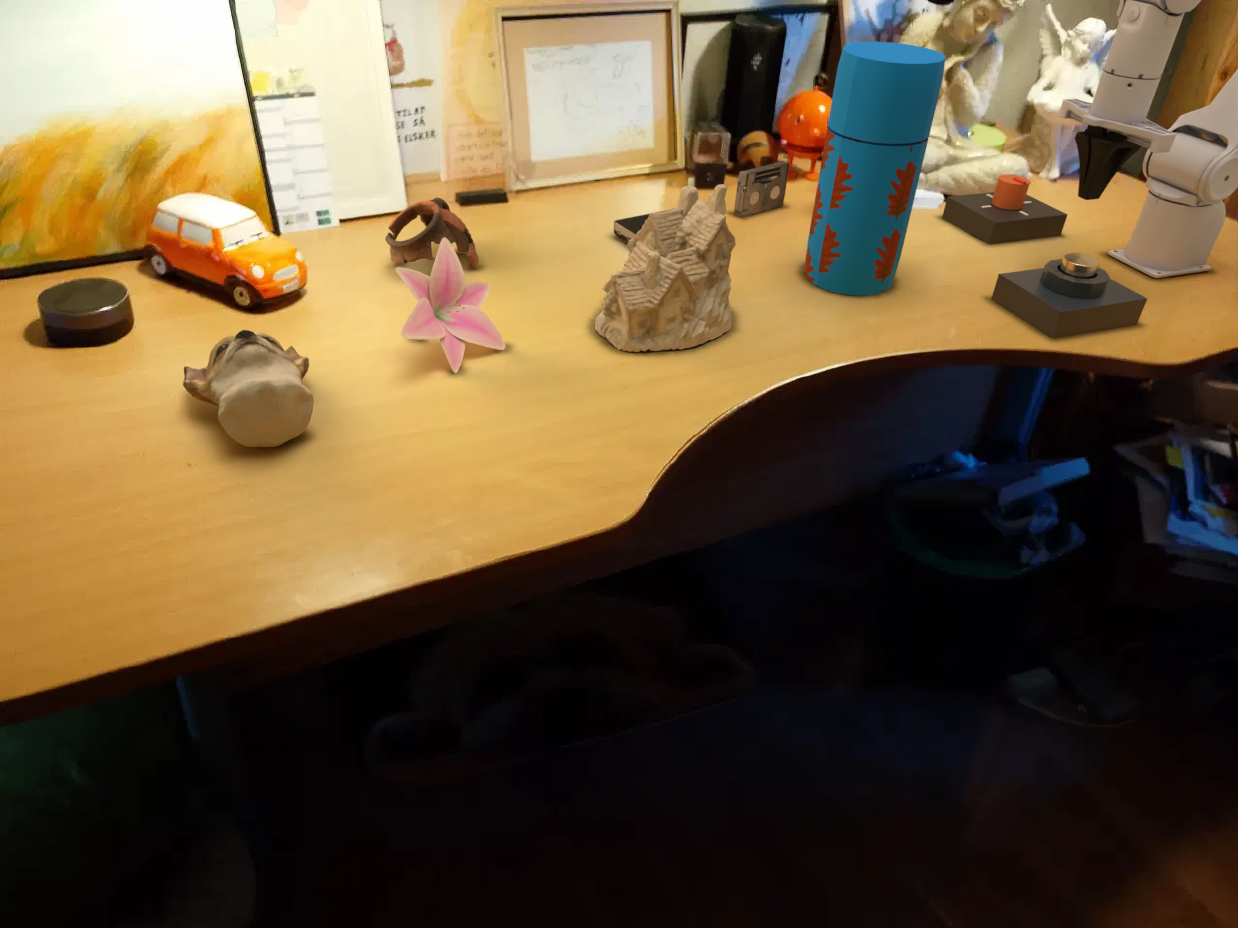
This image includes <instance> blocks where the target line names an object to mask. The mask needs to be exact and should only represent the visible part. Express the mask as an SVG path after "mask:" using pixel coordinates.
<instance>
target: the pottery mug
mask: <svg viewBox="0 0 1238 928" xmlns="http://www.w3.org/2000/svg"><path fill="white" fill-rule="evenodd" d="M418 216H419V219H420V222H421V223H423V224H424V226H425V228H424V229H423V230H422V231H421V232H419V233H418V234H416V235H414V236H413V237H410V238H408V239H405V240H397V238H398V236H399V234H400V233H401V232H402V230H403V229H404V228H406V226H408V224H410V223H411V222H412V221H414V220H416V219H418ZM388 230H389V231H390V232H387V235H385V238H384V240H385V242H386V243H387V245H388V246H389V255H390V260H391V261H392V262H394V264H396V265H400V264H401V265H406V264H408V263H414V262H417V261H419V260H423V259H425V260H428V261H432V262H433V261H435V259H434V256H433V249H432V243H434V244H435V245H440V242H441V240H442V238H444V237H445V238H447V239H448V240H449V242H450V243H451V245H452V244H454V243H455V246H456V251H457V252H458V253H461V254H462V253H465V254H467V258H468V259H469V260H470V264H471V266H472V268H473V269H475V270H476V269H477V268H478V266H479V261H480V260H479V255H478V253H477V249H476V244H475V242H474V240H473V237H472V234H471V233H470V231H469V228H467V225H466V224H465V223H464V221H462V219H461V218H460V217H459V216H458V215H457V214H456V213H454V212H452V211H451V209H450V206H449V204H448V203H447V202H446V201H445V200H444V199H442V198H441V197H433V199H430V200H422V201H418V202H415V203H412V204H411V205H409V206H407V207H406V208H404V209H403V210H401V211H400V212H399V213H398V214H397V215H396V216H395V217H394V218H393V219H392V220H391V222H390V223H389V226H388Z"/></svg>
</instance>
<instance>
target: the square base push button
mask: <svg viewBox="0 0 1238 928" xmlns="http://www.w3.org/2000/svg"><path fill="white" fill-rule="evenodd" d="M1062 260H1063V258H1057V259H1051V260H1049V261H1047V262H1046V263H1045V264H1044V267H1040V268H1039V267H1038V268H1033V269H1024V270H1017V271H1010V272H1009V271H1008V272H1003V273H998V275H997V279H996V282H995V286H994V288H993V292H992V295H991V298H990V300H991V301H993V302H994V303H996V304H998V305H999V306H1000V307H1002V308H1004V309H1005V310H1007V311H1008V312H1010V313H1011V314H1013V315H1014V316H1016V317H1018V318H1020V319H1021V320H1022V321H1024V322H1026V324H1029V325H1030V326H1032V327H1033V328H1035V329H1037V330H1038V331H1039V332H1041V333H1043V334H1044V335H1046V336H1047V337H1049V338H1051V339H1057V338H1065V337H1069V336H1074V335H1075V336H1076V335H1082V334H1087V333H1095V332H1099V331H1100V332H1101V331H1106V330H1112V329H1118V328H1125V327H1131V326H1136V325H1138V323H1139V320H1140V319H1141V315H1142V313H1143V311H1144V309H1145V306H1146V304H1147V301H1148V297H1146V296H1144V295H1142V294H1140V293H1138V292H1137V291H1134V290H1133V289H1131V288H1129V287H1127V286H1125V285H1123V284H1121V283H1120V282H1118V281H1116V280H1113V279H1112V278H1111V276H1110V275H1109V274H1108V272H1107V271H1106V270H1105V269H1103V268H1101V267H1099V266H1098V267H1097V270H1096V272H1095V275H1094V278H1092V279H1081V278H1074V277H1071V276H1067V275H1065V274H1063V273H1062V272H1060V271H1059V269H1060V266H1061V263H1062Z"/></svg>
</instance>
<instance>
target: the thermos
mask: <svg viewBox="0 0 1238 928" xmlns="http://www.w3.org/2000/svg"><path fill="white" fill-rule="evenodd" d="M945 63H946V55H945V54H944V53H941V52H940V51H937V50H935V49H932V48H928V47H923V46H918V45H915V44H908V43H901V42H900V43H898V42H891V41H890V42H888V41H859V42H858V41H857V42H850V43H848V44H845V45H844V46H843V48H842V51H841V54H840V57H839V61H838V65H837V69H836V75H835V81H834V87H833V92H832V99H831V103H830V110H829V116H828V121H827V127H826V128H827V129H826V132H825V138H824V140H825V141H824V145H823V151H822V155H821V163H820V168H819V174H818V180H817V187H816V191H815V196H814V197H815V198H814V202H813V207H812V208H813V209H812V215H811V221H810V228H809V232H808V238H807V244H806V254H805V260H804V261H805V263H804V272H803V274H804V276H805V277H806V279H807V281H808V282H810V283H812V284H813V285H814V286H816V287H817V288H821V289H823V290H826V291H828V292H831V293H836V294H841V295H844V296H858V297H863V296H874V295H878V294H882V293H885V292H888V290H889V289H890V288H892V287H893V284H894V280H895V277H896V273H897V270H898V267H899V263H900V260H901V257H902V253H903V249H904V248H903V247H904V244H905V240H906V235H907V231H908V227H909V223H910V218H911V214H912V210H913V205H914V202H915V197H916V193H917V188H918V184H919V180H920V176H921V172H922V169H923V163H924V159H925V155H926V151H927V147H928V142H929V138H930V135H931V130H932V126H933V121H934V117H935V113H936V109H937V104H938V100H939V96H940V92H941V87H942V84H943V79H944V72H945Z"/></svg>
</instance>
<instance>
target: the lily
mask: <svg viewBox="0 0 1238 928" xmlns="http://www.w3.org/2000/svg"><path fill="white" fill-rule="evenodd" d="M435 255H436V256H435V259H434V262H433V265H432V268H431V272H430V275H428V274H425V273H423V272H421V271H417V270H414V269H411V268H407V267H402V266H397V267H396V268H395V270H396V273H397V274H398V276H399V277H400V278H401V280H402V282H403V283H404V285H405V286H406V288H407V289H408V290H409V291H410V293H411V294H412V296H413V297H414V298H415V299H416V301H417V302H416V304H415V305H414V308H413V309H412V311H411V312H410V314H409V315H408V317H407V319H406V320H405V322H404V324H403V326H402V328H401V331H400V335H401V337H403V338H404V339H408V340H418V341H420V340H439V342H440V345H441V347H442V349H443V352H444V354H445V357H446V359H447V361H448V364H449V365H450V367H451V370H452V372H454V374H457V372H459V369H460V367H461V365H462V362H463V359H464V355H465V350H466V342H468V343H471V344H474V345H479V346H483V347H486V348H490V349H494V350H499V351H504V350H505V349H506V343H505V341H504V338H503V336H502V334H501V333H500V332H499V330H498V328H497V326H496V325H495V324H494V322H493V321H492V319H491V318H490V317H489V316H488V314H487V313H486V312H484V311H483V309H481V308H482V306H483V305H484V303H485V302H486V300H487V298H488V296H489V293H490V291H491V285H490V284H489V283H488V282H484V281H483V282H482V281H466V278H465V277H466V276H465V272H464V269H463V266H462V264H461V263H462V262H461V261H460V259H459V256H458V254H457V253H456V250H455V248H454V247H453V245H452V244H451V243H450V242H449V240H448V239H447V238H445V237H444V238H442V240H441V242H440V244H438V249H437V252H436V254H435Z"/></svg>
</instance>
